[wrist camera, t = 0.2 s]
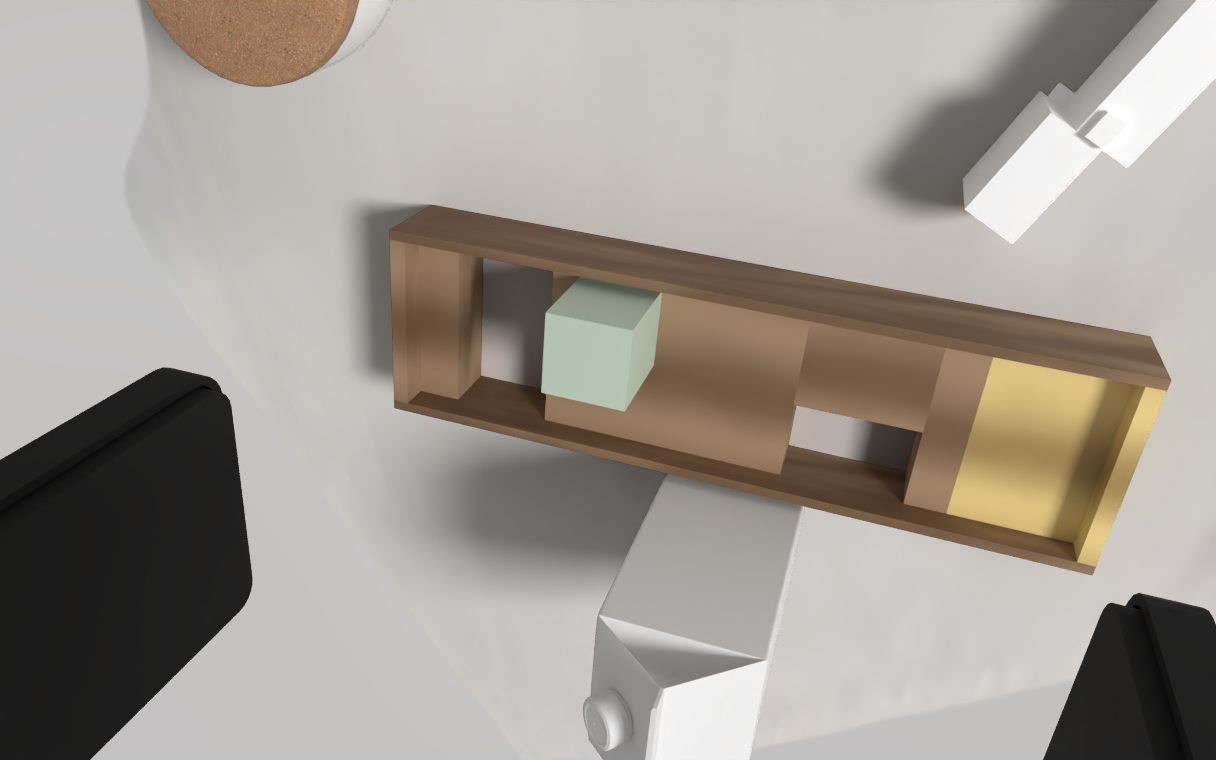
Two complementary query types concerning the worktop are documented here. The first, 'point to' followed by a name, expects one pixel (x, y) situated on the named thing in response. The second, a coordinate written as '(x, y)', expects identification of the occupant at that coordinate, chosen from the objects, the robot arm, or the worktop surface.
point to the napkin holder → (1096, 116)
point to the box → (803, 386)
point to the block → (600, 342)
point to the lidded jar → (269, 34)
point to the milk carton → (692, 625)
